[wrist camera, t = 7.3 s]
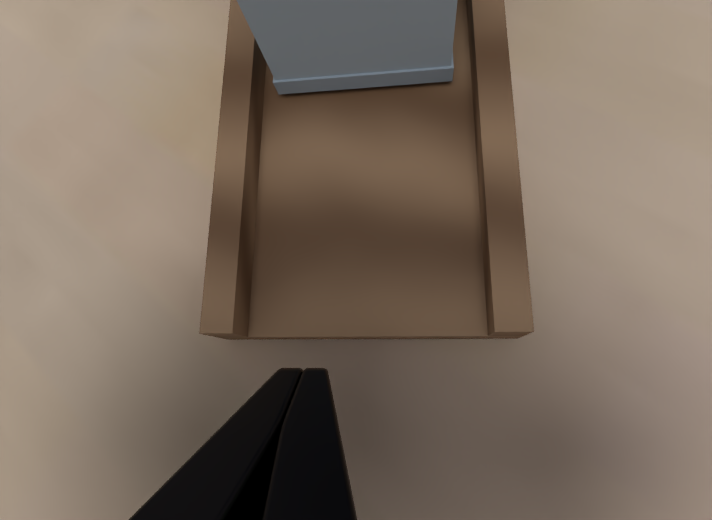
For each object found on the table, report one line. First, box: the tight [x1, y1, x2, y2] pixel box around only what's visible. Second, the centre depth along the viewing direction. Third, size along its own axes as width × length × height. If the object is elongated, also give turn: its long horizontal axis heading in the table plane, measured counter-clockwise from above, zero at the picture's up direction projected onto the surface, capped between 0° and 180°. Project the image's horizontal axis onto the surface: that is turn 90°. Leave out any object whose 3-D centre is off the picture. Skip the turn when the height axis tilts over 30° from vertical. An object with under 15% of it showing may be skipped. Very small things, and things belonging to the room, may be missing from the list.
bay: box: [200, 0, 534, 339], centre depth 18 cm, size 19×11×5 cm, turn 0°
